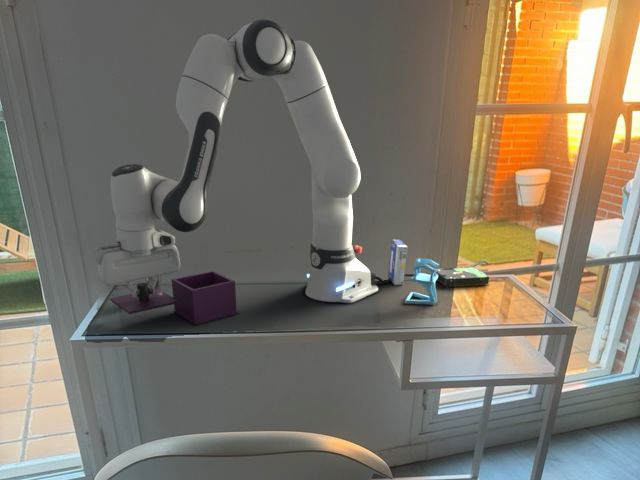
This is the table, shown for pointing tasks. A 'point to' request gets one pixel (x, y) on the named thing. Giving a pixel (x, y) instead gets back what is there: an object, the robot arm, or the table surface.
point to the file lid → (143, 300)
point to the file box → (204, 296)
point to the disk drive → (461, 276)
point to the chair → (424, 282)
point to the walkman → (397, 262)
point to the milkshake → (158, 284)
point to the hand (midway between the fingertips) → (143, 294)
